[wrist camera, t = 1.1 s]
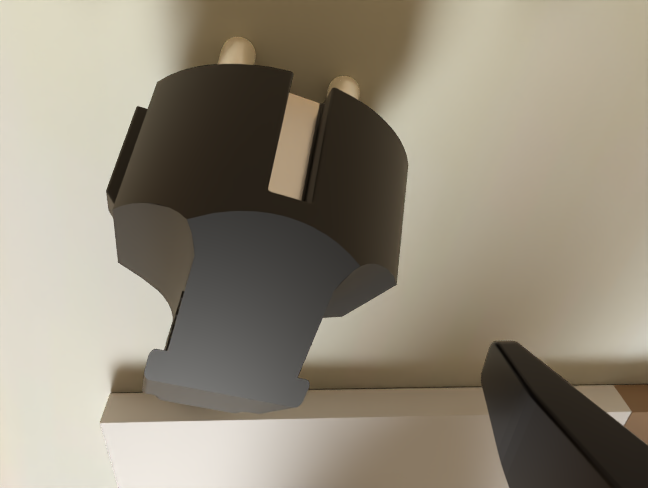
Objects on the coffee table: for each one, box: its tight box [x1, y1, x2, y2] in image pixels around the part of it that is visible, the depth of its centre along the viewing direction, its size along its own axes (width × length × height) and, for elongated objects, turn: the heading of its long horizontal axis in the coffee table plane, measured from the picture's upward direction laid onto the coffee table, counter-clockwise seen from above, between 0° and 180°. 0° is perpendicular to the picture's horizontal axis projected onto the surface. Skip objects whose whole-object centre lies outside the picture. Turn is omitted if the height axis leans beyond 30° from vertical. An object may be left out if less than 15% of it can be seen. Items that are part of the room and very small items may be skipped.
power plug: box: [106, 36, 408, 414], centre depth 13 cm, size 6×8×12 cm
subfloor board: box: [100, 384, 648, 488], centre depth 20 cm, size 8×28×1 cm, turn 87°
